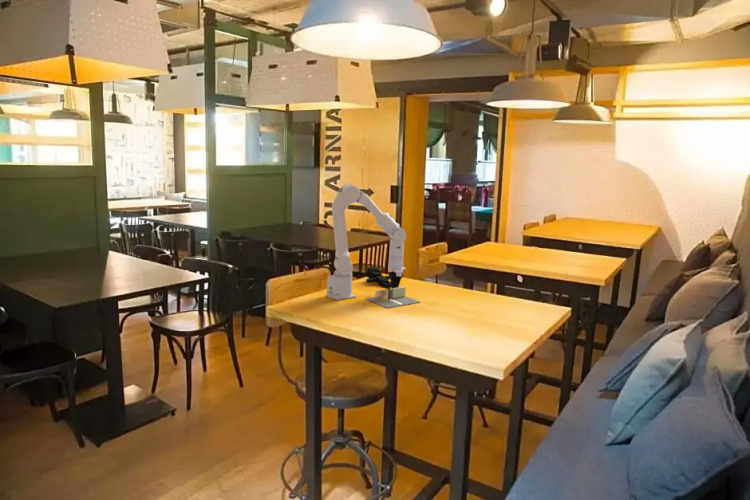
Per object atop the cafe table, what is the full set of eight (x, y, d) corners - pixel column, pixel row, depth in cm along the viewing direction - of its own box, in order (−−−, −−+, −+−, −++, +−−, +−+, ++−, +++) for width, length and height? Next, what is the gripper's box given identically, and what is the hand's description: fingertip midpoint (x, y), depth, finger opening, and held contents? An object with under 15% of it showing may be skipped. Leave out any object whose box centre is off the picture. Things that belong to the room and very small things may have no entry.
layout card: (387, 308, 200) (387, 307, 200) (365, 299, 211) (365, 298, 211) (420, 302, 210) (420, 301, 210) (397, 294, 221) (397, 293, 221)
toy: (379, 283, 225) (358, 269, 236) (377, 295, 227) (356, 280, 238) (404, 279, 234) (383, 265, 244) (401, 291, 236) (380, 276, 246)
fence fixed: (376, 302, 208) (377, 290, 207) (374, 301, 209) (375, 289, 208) (390, 299, 212) (391, 288, 211) (388, 299, 213) (389, 287, 212)
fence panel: (391, 298, 212) (391, 289, 211) (389, 297, 213) (390, 288, 212) (405, 296, 216) (405, 287, 215) (403, 295, 217) (404, 286, 216)
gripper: (410, 260, 210) (408, 294, 212) (402, 253, 224) (400, 285, 226) (392, 260, 209) (390, 294, 211) (385, 253, 223) (384, 285, 225)
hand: (394, 289), depth 219 cm, fingers closed
